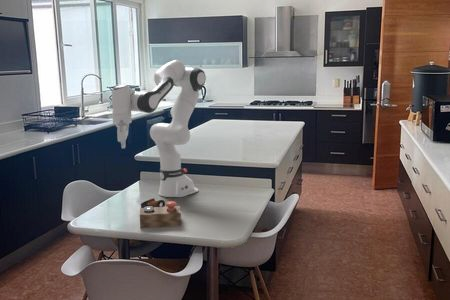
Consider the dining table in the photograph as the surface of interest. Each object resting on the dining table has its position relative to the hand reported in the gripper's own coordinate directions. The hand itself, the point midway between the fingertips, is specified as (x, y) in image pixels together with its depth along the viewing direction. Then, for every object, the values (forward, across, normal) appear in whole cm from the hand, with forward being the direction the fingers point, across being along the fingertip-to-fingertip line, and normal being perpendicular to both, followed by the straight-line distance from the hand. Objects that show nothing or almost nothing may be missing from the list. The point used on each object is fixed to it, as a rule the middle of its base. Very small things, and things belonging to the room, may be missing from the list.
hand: (123, 147), depth 225 cm
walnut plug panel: (+31, -23, -17) cm, 42 cm away
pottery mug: (+31, -8, -13) cm, 35 cm away
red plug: (+29, -23, -22) cm, 42 cm away
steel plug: (+31, -23, -12) cm, 40 cm away
